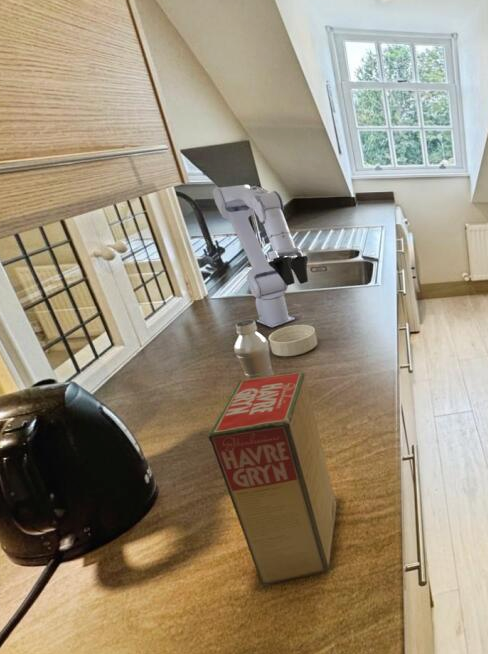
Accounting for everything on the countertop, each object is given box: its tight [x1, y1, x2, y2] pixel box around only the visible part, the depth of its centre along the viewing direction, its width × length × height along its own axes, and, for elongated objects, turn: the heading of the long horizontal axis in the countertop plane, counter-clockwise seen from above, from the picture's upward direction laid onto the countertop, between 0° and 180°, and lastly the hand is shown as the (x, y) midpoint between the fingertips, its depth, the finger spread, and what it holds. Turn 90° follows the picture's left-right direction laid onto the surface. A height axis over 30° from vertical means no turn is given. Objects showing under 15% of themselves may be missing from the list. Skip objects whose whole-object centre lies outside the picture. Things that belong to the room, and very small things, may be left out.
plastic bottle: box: [233, 319, 275, 379], centre depth 98 cm, size 6×7×20 cm
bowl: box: [267, 324, 318, 357], centre depth 127 cm, size 12×12×4 cm
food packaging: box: [207, 370, 337, 586], centre depth 63 cm, size 13×9×25 cm
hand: (297, 283), depth 125 cm, fingers open, 7 cm apart
